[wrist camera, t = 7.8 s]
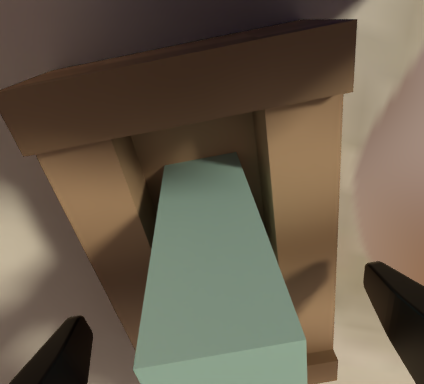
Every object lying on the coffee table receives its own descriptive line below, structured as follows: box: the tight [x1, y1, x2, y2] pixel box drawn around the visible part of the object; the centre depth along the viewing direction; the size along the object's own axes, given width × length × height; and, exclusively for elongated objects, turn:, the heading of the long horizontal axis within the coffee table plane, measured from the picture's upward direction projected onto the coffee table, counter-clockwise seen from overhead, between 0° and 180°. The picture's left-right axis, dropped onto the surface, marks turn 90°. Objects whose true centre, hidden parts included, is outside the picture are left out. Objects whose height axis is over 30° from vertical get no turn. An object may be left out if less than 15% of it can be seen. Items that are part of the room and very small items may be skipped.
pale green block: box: [133, 152, 307, 384], centre depth 9 cm, size 7×3×7 cm, turn 10°
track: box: [0, 19, 357, 384], centre depth 11 cm, size 14×8×4 cm, turn 10°
